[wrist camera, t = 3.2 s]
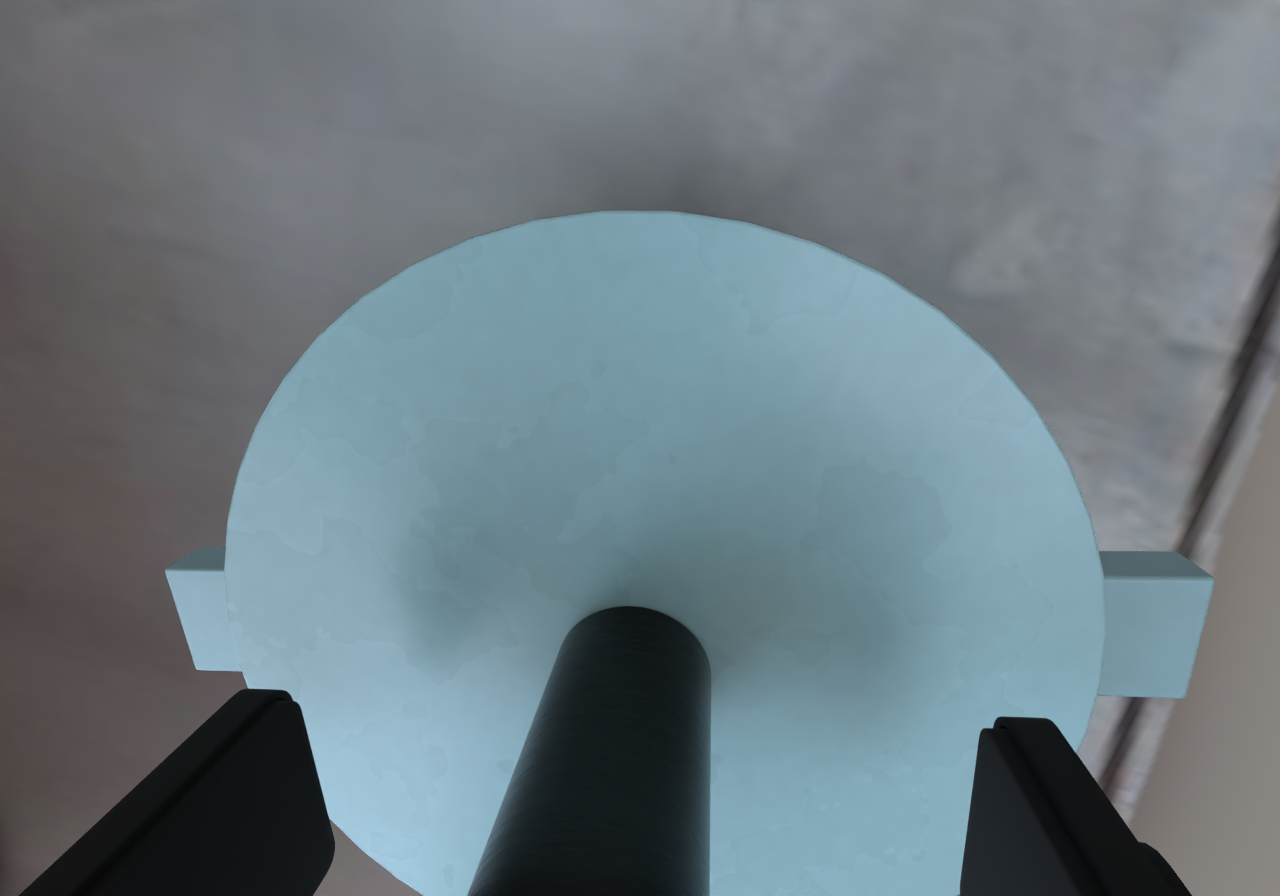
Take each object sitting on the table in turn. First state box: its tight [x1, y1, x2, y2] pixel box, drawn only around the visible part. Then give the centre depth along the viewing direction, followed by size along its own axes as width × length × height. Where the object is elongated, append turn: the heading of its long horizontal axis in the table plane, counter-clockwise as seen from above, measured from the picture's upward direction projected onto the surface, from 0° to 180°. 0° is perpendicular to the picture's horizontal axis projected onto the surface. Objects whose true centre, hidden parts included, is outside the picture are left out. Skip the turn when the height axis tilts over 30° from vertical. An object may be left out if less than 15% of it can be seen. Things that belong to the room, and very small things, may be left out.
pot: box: [165, 547, 1215, 698], centre depth 15 cm, size 14×19×8 cm
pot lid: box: [224, 210, 1107, 896], centre depth 9 cm, size 15×15×6 cm
